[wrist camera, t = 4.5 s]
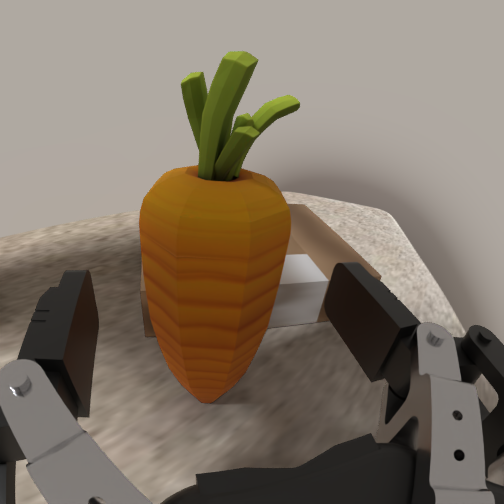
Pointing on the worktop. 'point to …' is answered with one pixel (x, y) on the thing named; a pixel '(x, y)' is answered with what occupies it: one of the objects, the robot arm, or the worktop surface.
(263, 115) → the carrot
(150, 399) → the worktop surface
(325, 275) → the brown and silver frame
